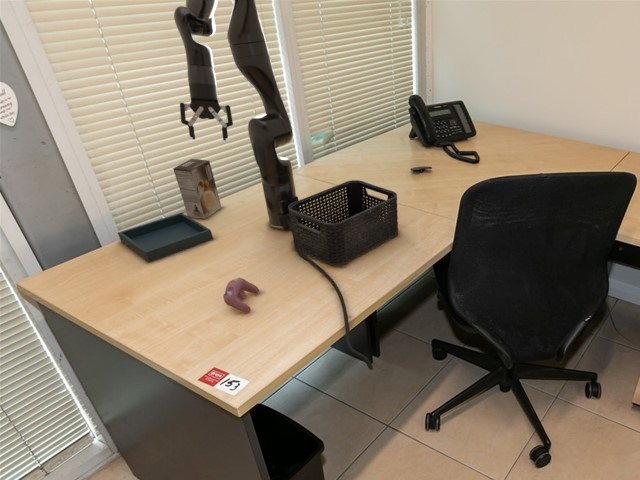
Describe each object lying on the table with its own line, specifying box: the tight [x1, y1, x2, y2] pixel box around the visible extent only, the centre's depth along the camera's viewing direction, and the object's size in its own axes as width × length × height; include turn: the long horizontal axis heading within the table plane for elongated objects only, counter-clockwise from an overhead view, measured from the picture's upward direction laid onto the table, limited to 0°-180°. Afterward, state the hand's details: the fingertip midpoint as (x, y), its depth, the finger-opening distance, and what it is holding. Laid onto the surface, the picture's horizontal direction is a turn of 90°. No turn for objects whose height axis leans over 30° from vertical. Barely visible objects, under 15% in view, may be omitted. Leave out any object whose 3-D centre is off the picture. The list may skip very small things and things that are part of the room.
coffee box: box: [172, 158, 222, 220], centre depth 162 cm, size 9×6×16 cm
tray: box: [117, 212, 214, 263], centre depth 150 cm, size 17×19×3 cm
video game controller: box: [222, 277, 260, 314], centre depth 127 cm, size 10×5×7 cm, turn 5°
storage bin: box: [288, 179, 399, 267], centre depth 153 cm, size 29×19×13 cm
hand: (209, 140), depth 160 cm, fingers open, 8 cm apart
